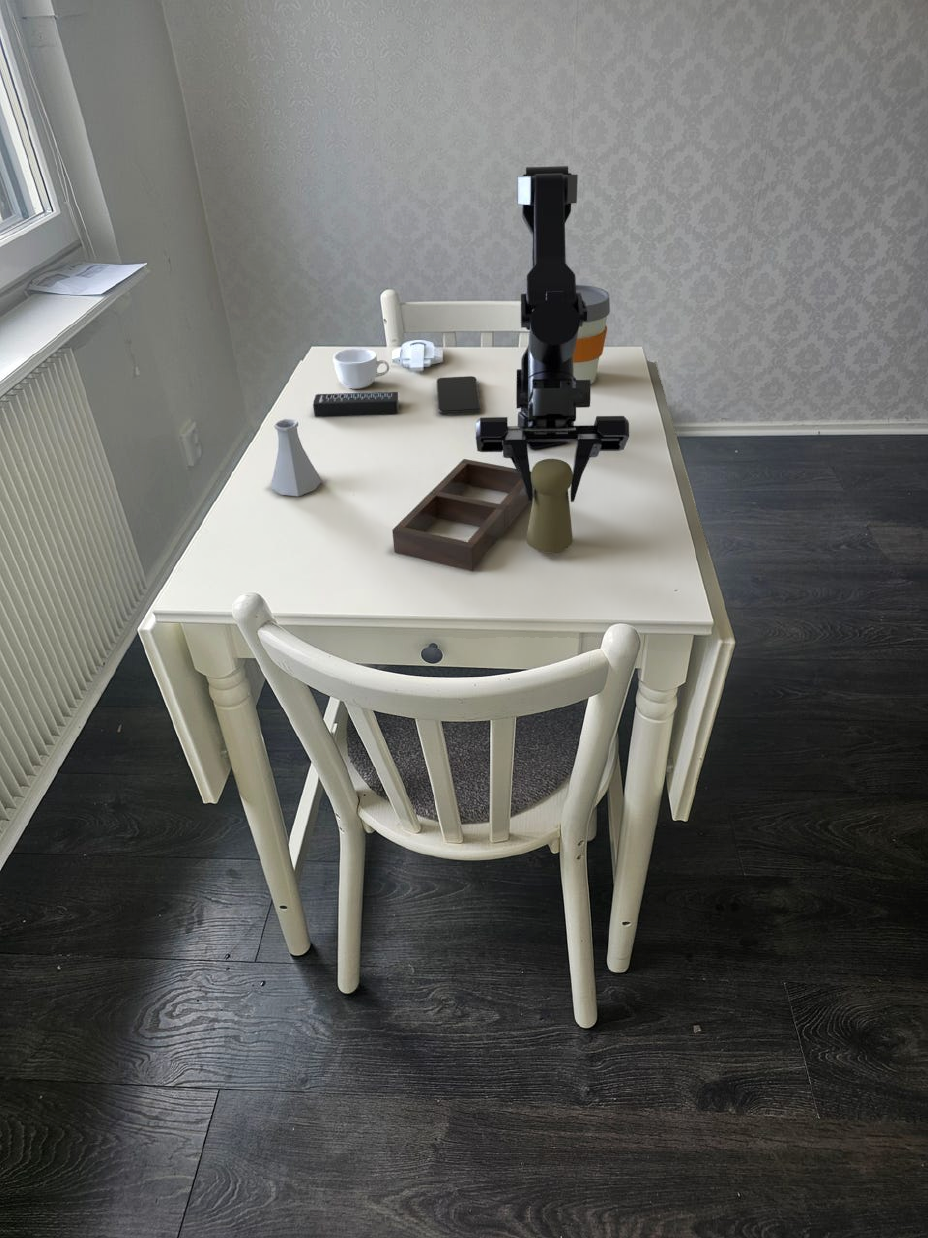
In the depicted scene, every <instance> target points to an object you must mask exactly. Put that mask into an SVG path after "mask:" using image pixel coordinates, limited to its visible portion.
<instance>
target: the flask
mask: <svg viewBox="0 0 928 1238" xmlns="http://www.w3.org/2000/svg"><path fill="white" fill-rule="evenodd" d="M273 427H274V429H275V430H276V431H277V437H278V442H277V443H278V444H277V445H278V447H277V448H278V449H277V455H276V460H275V464H274V465H275V466H274V470H273V474H272V478H271V482H270V489H271V490H273V491H275V492H276V493H277V494H278V495H281V496H292V497H300V496H302V495H305V494H308V493H310V492H313V491H315V490H316V489H317V488H318V487H319V485H320V484H321V483H322V481H323V480H322V478H321V476H320V474H319V473H318V471H317V469H316V468H315V466H314V465H313V463H312V462H311V460H310V458H309V456H308V454H307V452H306V451H305V448H304V447H303V445H302V442H301V440H300V436H299V433H298V427H299V421H297V420H295V419H291V418H285V419H281V420H278V421H277V422H276V423H275V424H274V425H273Z"/></svg>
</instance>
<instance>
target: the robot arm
mask: <svg viewBox="0 0 928 1238" xmlns="http://www.w3.org/2000/svg"><path fill="white" fill-rule="evenodd" d="M516 177H517V179H516V181H517V182H516V185H517V186H516V187H517V188H516V204H517V205H519V206H521V218H522V220H523V222H524V223H525V226H526V228H527V229H528V231H529V234H530V235H531V269H530V270H529V271H528V272H527V274H526V280H525V281H526V282H525V283H526V284H525V286H526V287H525V288H526V289H525V293H520V328H521V329H523V328H525V329H526V330H527V331H529V334H528V335H529V336H528V337H529V338H528V340H529V341H528V344H527V347H526V349H525V350H524V352H523V354H522V355H521V358H520V369H519V368H517V369H516V382H515V383H516V384H515V385H516V387H515V388H516V389H515V390H516V393H515V397H516V400H515V401H516V404H515V405H516V409H520V411H518V413H517V425H512V426H511V425H509V426H508V424H509V423H508V421H509V419H508V416H495V417H493V416H491V417H487V416H486V417H485V416H484V417H483V416H481V417H479V419H477V421H476V422H475V444H476V451H477V452H480V453H502V457H503V459H504V458H505V459H510V460H511V462H512V463H513V466H514V468H515V469H517V471H518V473H519V475H520V478H521V481H522V484H523V486H524V489H525V492H526V495H527V498H528V501H529V502H528V503H532V502H533V497H532V482H531V474H530V471H531V468H530V460H529V451H528V450H529V449H530V450H537V449H542V448H549V447H553V446H559V445H564V444H567V443H568V442H576V448H575V452H574V460H573V467H572V473H573V480H572V483H571V486H570V491H569V494H570V503H574V502H575V500H576V496H577V493H578V489H579V486H580V482H581V479H582V476H583V473H584V472H585V469H586V467H587V465H588V463H589V460H590V459H591V458H597V457H598V456H599V454H600V452H620V451H623V450H625V447H626V446H627V442H628V440H629V437H630V423H629V420H628V419H627V418H626V416H625V415H597V416H596V417H595V420H594V424H593V425H575V422H576V421H577V408H578V409H579V408H590V407H591V393H592V392H591V384H590V380H576V378H575V377H574V376H573V354H574V351H575V348H576V342H577V336H578V331H579V327H582V325H583V321H587V307H586V304H585V302H584V301H583V300H582V296H581V293H576V285H577V279H576V273H575V272H574V271H573V270H572V268H570V267H569V265H568V264H567V259H566V258H567V257H566V222H567V221H568V219H569V217H570V215H571V212H572V204H577V203H578V179H579V178H578V177H579V175H578V174H572V173H571V172H569V166H568V165H563V166H561V165H560V166H527V167H525V173H524V174H523V175H517V176H516ZM528 448H529V449H528Z"/></svg>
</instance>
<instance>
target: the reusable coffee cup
mask: <svg viewBox="0 0 928 1238" xmlns="http://www.w3.org/2000/svg"><path fill="white" fill-rule="evenodd" d="M576 293H581V296H582V300H583V301H584V302H585V304H586V307H587V321H583V325H582V327H579V331H578V336H577V342H576V348H575V351H574V354H573V376H574V377H575V378H576V380H590V385H592V384H593V383H595V381H596V377H597V372H598V367H599V361H600V357H601V356H602V355H603V353H604V347H605V343H606V337H607V331H608V325H607V319H608V316H609V315H610V314H611V306H610V304H611V303H610V293H609V291H607V290H605V289H604V288H600V287H597V286H594V285H593V286H592V285H587V284H586V285H585V284H576Z"/></svg>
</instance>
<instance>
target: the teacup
mask: <svg viewBox="0 0 928 1238" xmlns="http://www.w3.org/2000/svg"><path fill="white" fill-rule="evenodd" d="M333 364H334V369H335V373H336V374H335V375H336V376H337V379H338V380H339V382H340V383H341V384H342V385H343V386H345V387H346V388H349V389H353V390H358V389H365V388H367V387H369V386H370V385H372V384H373V383H374V381H375V380H376V378H379V377H382V376H384V375H386V374H387V373H388V372H389V371H390V364H389V363H388V362H387V361H386V360H381V359H380V360H378V356H377V353H376V351H374V350H372V349H368V348H348V349H343V350H341V351H338V352H335V354H334V355H333ZM381 364H384V365H385V366H386V370H385V371H383V372H378V368H379V366H381Z"/></svg>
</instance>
